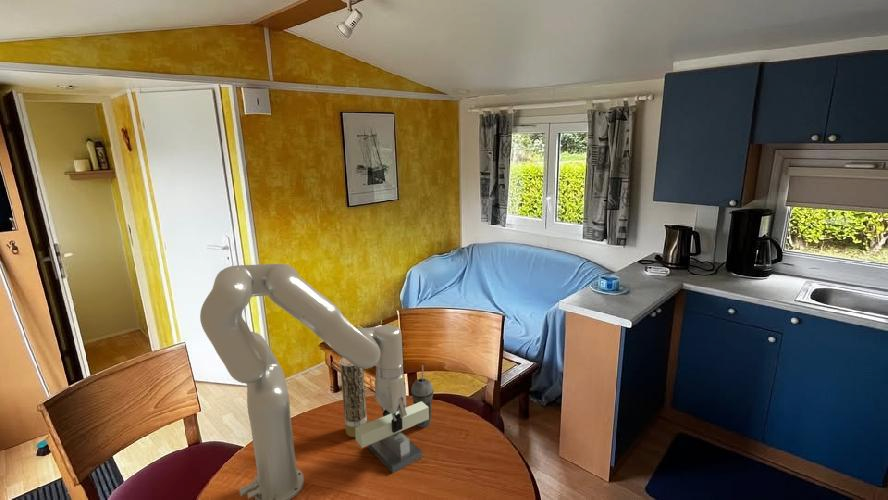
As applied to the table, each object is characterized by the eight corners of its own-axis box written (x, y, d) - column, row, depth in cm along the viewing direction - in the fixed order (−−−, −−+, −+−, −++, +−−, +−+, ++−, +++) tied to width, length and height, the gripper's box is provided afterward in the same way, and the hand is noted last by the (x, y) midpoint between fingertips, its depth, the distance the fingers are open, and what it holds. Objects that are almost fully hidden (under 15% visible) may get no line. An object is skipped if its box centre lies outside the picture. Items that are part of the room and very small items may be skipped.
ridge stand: (392, 473, 121) (391, 451, 120) (367, 447, 132) (366, 426, 130) (422, 457, 127) (421, 436, 126) (396, 433, 138) (395, 413, 136)
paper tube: (370, 425, 142) (365, 354, 137) (364, 439, 136) (358, 365, 130) (349, 424, 143) (343, 354, 137) (342, 438, 136) (336, 364, 131)
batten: (362, 447, 120) (361, 435, 119) (355, 440, 123) (354, 427, 122) (429, 419, 132) (428, 407, 132) (421, 412, 136) (421, 401, 135)
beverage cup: (408, 428, 141) (406, 371, 136) (416, 415, 147) (414, 360, 143) (430, 431, 138) (428, 374, 134) (437, 418, 145) (435, 363, 141)
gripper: (363, 362, 128) (367, 418, 132) (394, 385, 115) (397, 446, 119) (385, 354, 132) (388, 409, 136) (417, 376, 119) (420, 435, 123)
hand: (392, 426), depth 127 cm, fingers closed on batten, 4 cm apart
